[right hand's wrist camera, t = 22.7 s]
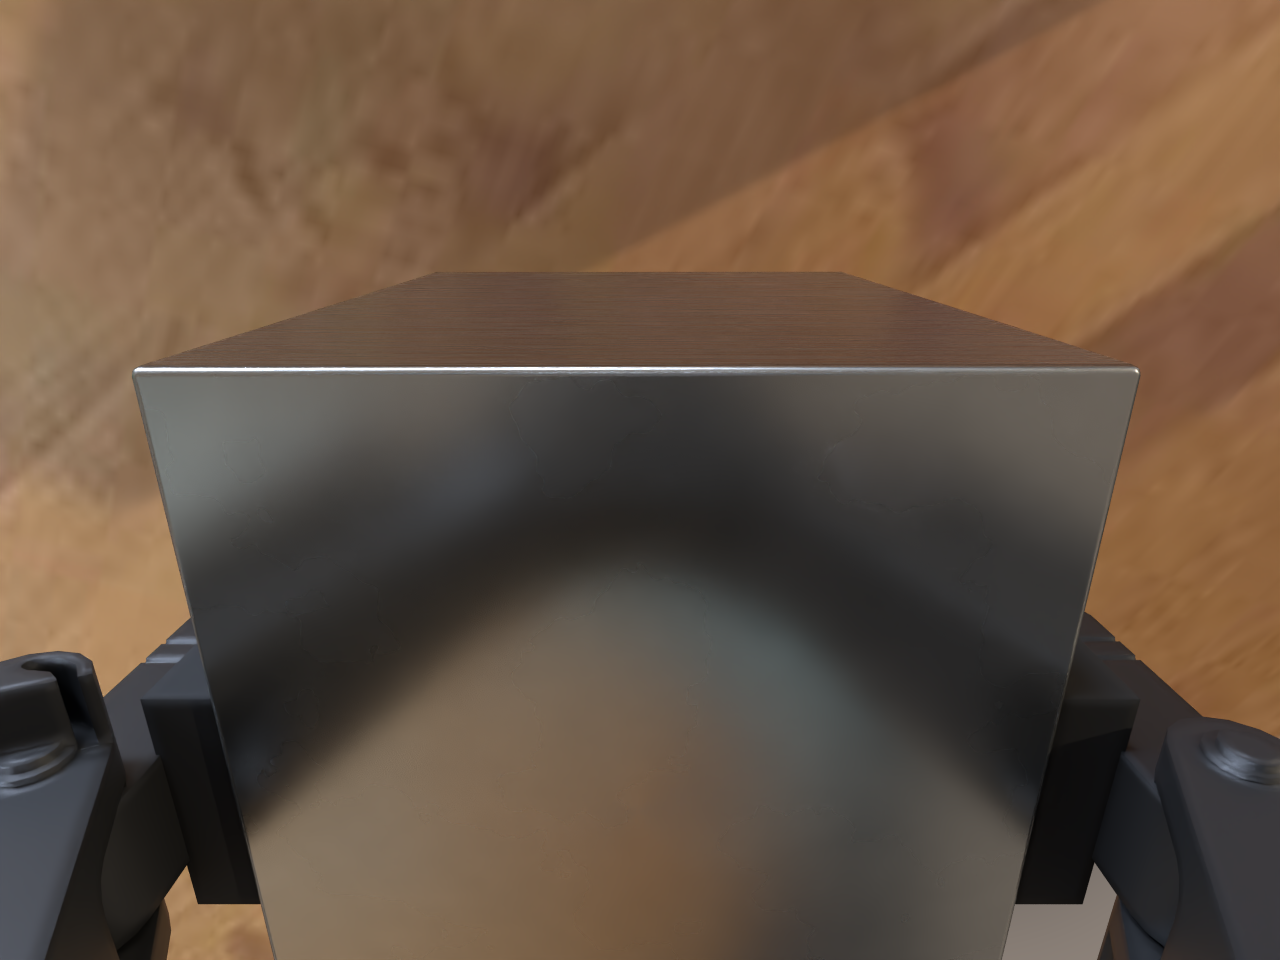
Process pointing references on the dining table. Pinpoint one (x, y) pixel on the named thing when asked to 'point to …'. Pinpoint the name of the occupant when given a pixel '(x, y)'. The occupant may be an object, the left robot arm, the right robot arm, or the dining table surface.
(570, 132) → the dining table surface
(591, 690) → the block
